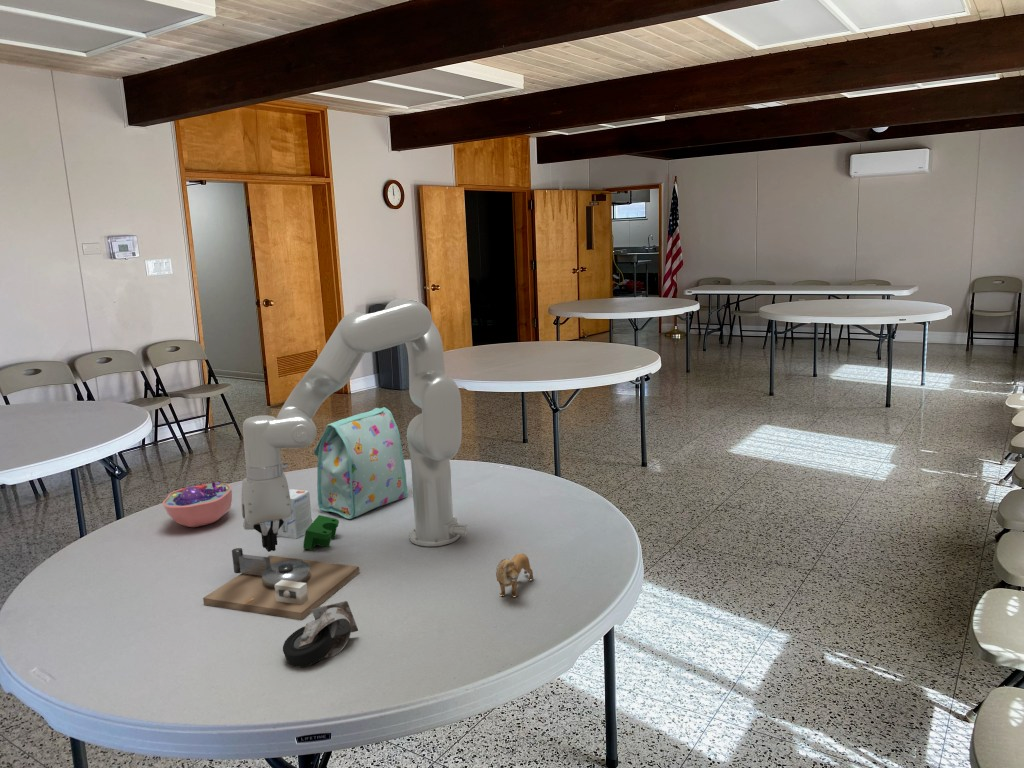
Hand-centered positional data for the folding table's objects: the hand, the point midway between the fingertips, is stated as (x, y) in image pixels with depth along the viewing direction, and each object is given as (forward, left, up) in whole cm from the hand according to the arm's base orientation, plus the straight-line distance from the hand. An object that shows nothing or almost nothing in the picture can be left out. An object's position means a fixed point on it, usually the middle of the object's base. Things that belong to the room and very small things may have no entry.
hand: (270, 549), depth 168 cm
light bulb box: (+11, -22, -6) cm, 25 cm away
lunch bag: (+2, -45, -6) cm, 45 cm away
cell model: (+39, -22, -6) cm, 45 cm away
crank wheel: (-4, +5, -4) cm, 8 cm away
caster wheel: (-30, +27, -6) cm, 41 cm away
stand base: (-8, +6, -5) cm, 12 cm away
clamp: (-2, -18, -6) cm, 19 cm away
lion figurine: (-57, -5, -6) cm, 57 cm away
